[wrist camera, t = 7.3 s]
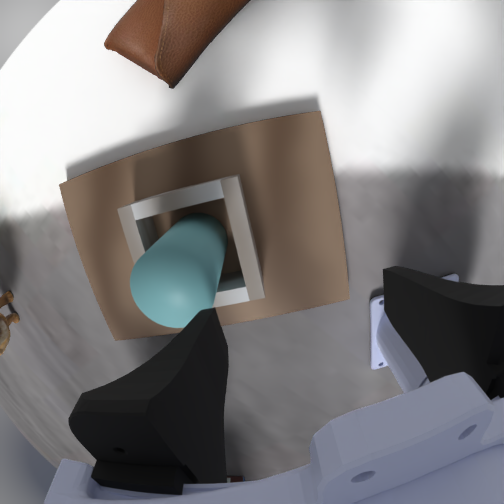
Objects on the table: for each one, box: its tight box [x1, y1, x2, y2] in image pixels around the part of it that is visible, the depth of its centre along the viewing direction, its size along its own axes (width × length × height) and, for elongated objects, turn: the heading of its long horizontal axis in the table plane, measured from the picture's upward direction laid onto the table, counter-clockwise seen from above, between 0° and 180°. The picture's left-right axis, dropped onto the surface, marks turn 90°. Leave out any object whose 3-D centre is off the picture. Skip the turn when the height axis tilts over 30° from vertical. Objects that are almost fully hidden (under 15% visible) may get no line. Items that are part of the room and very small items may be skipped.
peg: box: [130, 213, 228, 328], centre depth 17 cm, size 4×4×8 cm
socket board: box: [59, 111, 350, 341], centre depth 20 cm, size 20×14×4 cm
